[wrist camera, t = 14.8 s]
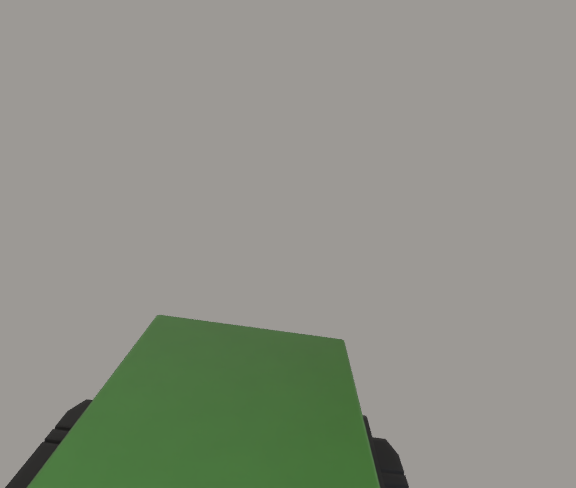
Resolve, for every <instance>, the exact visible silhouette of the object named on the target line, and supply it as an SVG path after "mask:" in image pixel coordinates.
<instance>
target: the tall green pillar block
mask: <svg viewBox="0 0 576 488" xmlns="http://www.w3.org/2000/svg"><path fill="white" fill-rule="evenodd" d="M27 488H380V485H379V481H378V477H377V473H376V468H375V464H374V460H373V456H372V452H371V448H370V444H369V440H368V436H367V432H366V428H365V424H364V420H363V416H362V412H361V408H360V403H359V400H358V396H357V392H356V387H355V383H354V379H353V375H352V371H351V367H350V363H349V359H348V355H347V351H346V347H345V343H344V340H342V339H335V338H327V337H320V336H312V335H305V334H298V333H290V332H283V331H275V330H268V329H260V328H253V327H245V326H238V325H231V324H223V323H216V322H208V321H201V320H193V319H186V318H179V317H171V316H164V315H157V316H156V318H155V319H154V320H153V321H152V323H151V324H150V325H149V327H148V328H147V329H146V331H145V332H144V333H143V335H142V336H141V337H140V339H139V340H138V341H137V343H136V344H135V345H134V346H133V348H132V349H131V351H130V352H129V353H128V355H127V356H126V357H125V358H124V360H123V361H122V362H121V364H120V365H119V366H118V368H117V369H116V370H115V372H114V373H113V374H112V376H111V377H110V378H109V380H108V381H107V382H106V383H105V385H104V386H103V388H102V389H101V390H100V391H99V393H98V394H97V395H96V397H95V398H94V399H93V401H92V402H91V403H90V405H89V406H88V407H87V409H86V410H85V411H84V413H83V414H82V415H81V417H80V418H79V419H78V420H77V422H76V423H75V424H74V426H73V427H72V428H71V430H70V431H69V432H68V434H67V435H66V436H65V438H64V439H63V440H62V442H61V443H60V444H59V446H58V447H57V448H56V450H55V451H54V452H53V453H52V455H51V456H50V457H49V459H48V460H47V461H46V463H45V464H44V465H43V467H42V468H41V469H40V471H39V472H38V473H37V475H36V476H35V477H34V479H33V480H32V481H31V483H30V484H29V485H28V487H27Z"/></svg>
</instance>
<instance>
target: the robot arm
mask: <svg viewBox="0 0 576 488" xmlns="http://www.w3.org/2000/svg"><path fill="white" fill-rule="evenodd" d="M92 401H93V400H85V401H83V402H82V403H80V404H78V405H77V406H75V407H74V408H72V409H70V410H69V411H67V413H66V414H65V415H64V416H63V418H62V419H61V420H60V421H59V423H58V424H57V425H56V427H55V429H53V430H52V431H51V432H50V434H49V435H48V436H47V437H46V438H45V441H44V442H42V443H41V444H40V446H39V447H38V448H37V449H36V451H35V452H34V453H33V454H32V456H31V457H30V458H29V459H28V461H27V462H26V463H25V464H24V465H23V467H22V468H21V469H20V470H19V471H18V473H17V474H16V475H15V476H14V478H13V479H12V480H11V482H9V484H8V485H7V486H6V487H5V488H27V487H28V485H29V484H30V483H31V481H32V480H33V479H34V477H35V476H36V475H37V473H38V472H39V471H40V469H41V468H42V467H43V465H44V464H45V463H46V461H47V460H48V459H49V457H50V456H51V455H52V453H53V452H54V451H55V450H56V448H57V447H58V446H59V444H60V443H61V442H62V440H63V439H64V438H65V436H66V435H67V434H68V432H69V431H70V430H71V428H72V427H73V426H74V424H75V423H76V422H77V420H78V419H79V418H80V417H81V415H82V414H83V413H84V411H85V410H86V409H87V407H88V406H89V405H90V403H91V402H92ZM362 416H363V420H364V424H365V428H366V432H367V436H368V440H369V444H370V448H371V452H372V456H373V460H374V464H375V468H376V473H377V477H378V481H379V485H380V488H409V486H408V483H407V480H406V477H405V476H404V471H403V467H402V465H401V461H400V458H399V455H398V454H397V453H396V451H395V450H394V449H393V448H392V446H391V445H390V444H389V443H388V442H387V440H386V439H381V438H373V437H372V435H371V431H370V427H369V423H368V420H367V417H366V416H364V415H362Z"/></svg>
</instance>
